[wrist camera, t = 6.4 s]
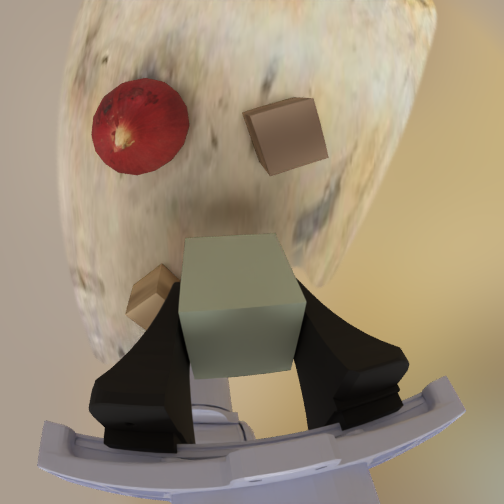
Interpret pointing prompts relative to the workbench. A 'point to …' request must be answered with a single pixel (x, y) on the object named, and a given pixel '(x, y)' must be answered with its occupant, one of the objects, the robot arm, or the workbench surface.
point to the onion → (140, 126)
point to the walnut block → (286, 134)
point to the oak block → (150, 296)
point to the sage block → (239, 306)
